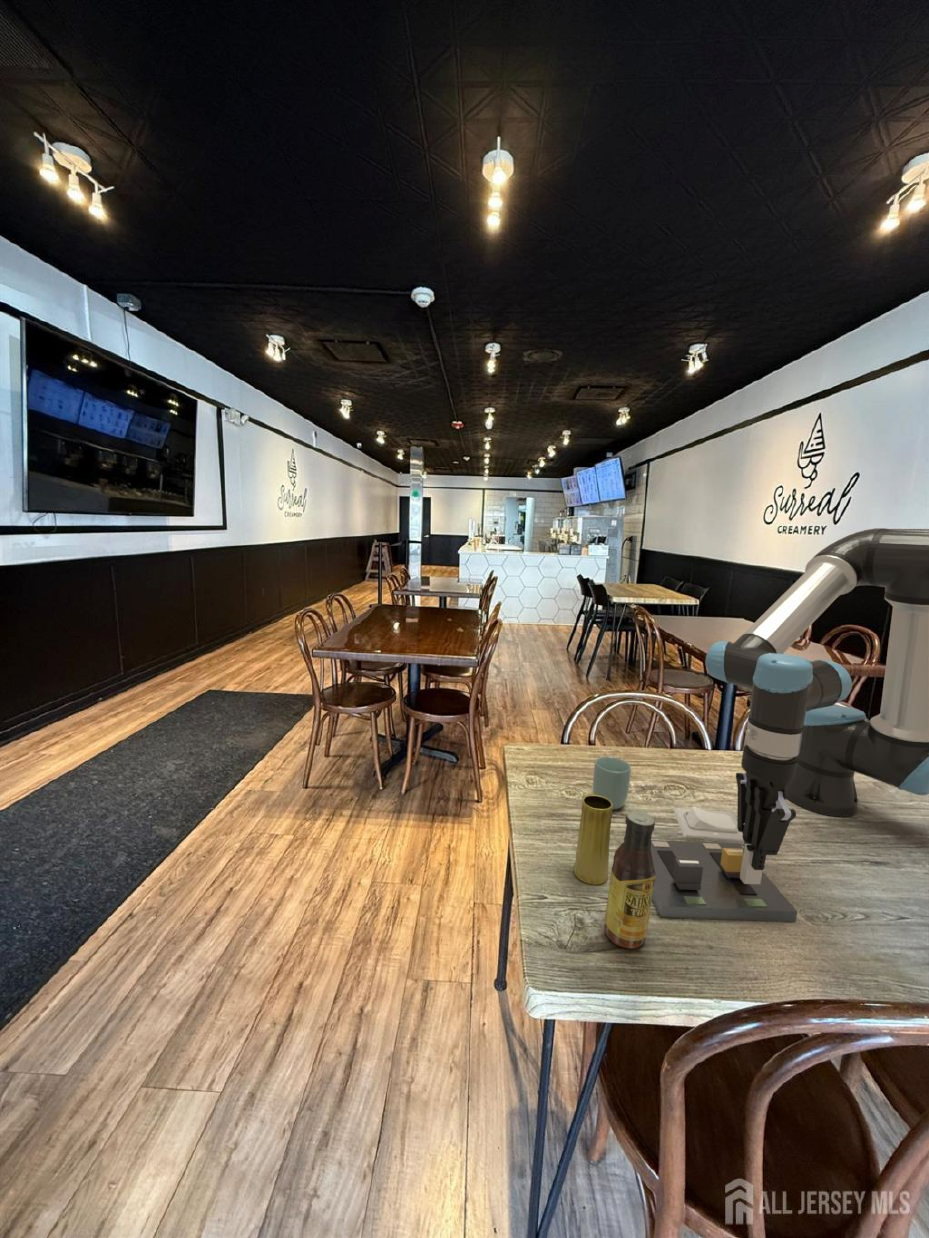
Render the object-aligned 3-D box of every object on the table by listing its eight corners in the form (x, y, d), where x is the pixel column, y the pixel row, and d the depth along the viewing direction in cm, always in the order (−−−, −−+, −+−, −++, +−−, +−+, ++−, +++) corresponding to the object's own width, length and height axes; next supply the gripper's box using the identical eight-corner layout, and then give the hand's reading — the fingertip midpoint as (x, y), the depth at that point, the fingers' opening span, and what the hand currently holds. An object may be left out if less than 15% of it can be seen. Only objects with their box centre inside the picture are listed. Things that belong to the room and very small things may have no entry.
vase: (614, 883, 90) (621, 809, 88) (582, 887, 89) (589, 812, 86) (598, 861, 96) (605, 791, 93) (568, 864, 95) (574, 794, 92)
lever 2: (740, 867, 92) (743, 846, 91) (749, 878, 89) (752, 856, 88) (718, 866, 92) (721, 845, 91) (726, 877, 89) (730, 855, 88)
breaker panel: (737, 852, 100) (738, 842, 100) (795, 922, 83) (797, 910, 82) (626, 848, 100) (627, 838, 100) (660, 917, 83) (662, 905, 82)
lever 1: (693, 878, 89) (696, 856, 88) (701, 890, 86) (704, 867, 85) (671, 877, 89) (673, 855, 88) (678, 889, 86) (681, 867, 85)
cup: (614, 818, 111) (618, 775, 109) (584, 803, 116) (588, 762, 115) (633, 806, 116) (637, 765, 114) (603, 792, 122) (607, 753, 120)
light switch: (673, 797, 115) (734, 801, 113) (672, 814, 116) (733, 819, 113) (684, 824, 105) (752, 830, 102) (683, 842, 105) (750, 848, 103)
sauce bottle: (622, 957, 75) (635, 834, 71) (595, 926, 80) (606, 811, 77) (656, 944, 77) (671, 825, 74) (628, 915, 83) (640, 803, 79)
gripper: (726, 733, 88) (709, 855, 92) (771, 768, 75) (749, 909, 79) (769, 734, 88) (750, 857, 92) (821, 770, 75) (796, 910, 80)
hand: (749, 880), depth 86 cm, fingers closed
